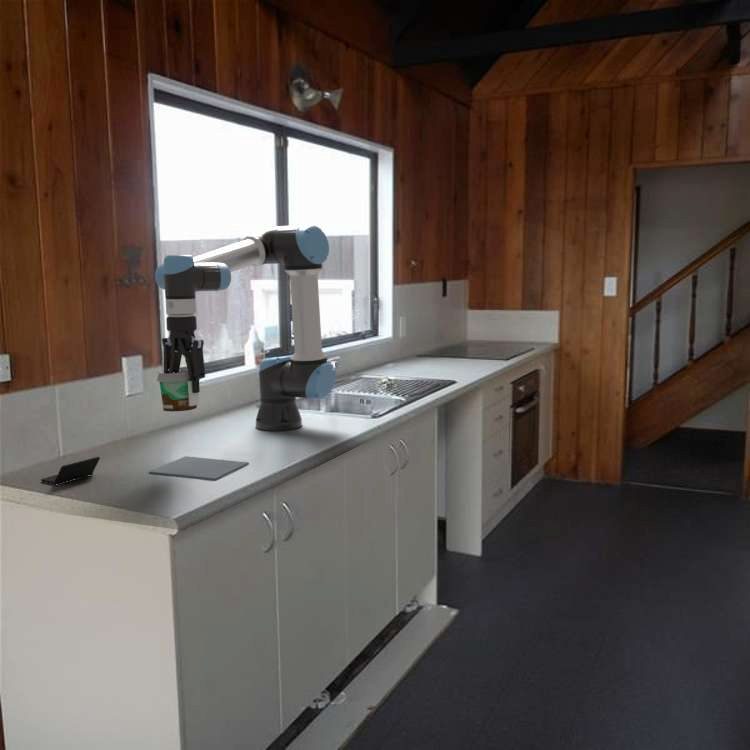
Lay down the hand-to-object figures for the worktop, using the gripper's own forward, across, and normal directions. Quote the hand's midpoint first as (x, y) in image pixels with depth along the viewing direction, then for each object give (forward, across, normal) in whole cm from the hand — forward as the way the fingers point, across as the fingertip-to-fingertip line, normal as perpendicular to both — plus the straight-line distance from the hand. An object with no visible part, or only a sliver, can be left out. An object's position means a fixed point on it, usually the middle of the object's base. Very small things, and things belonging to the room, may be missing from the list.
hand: (185, 403), depth 194 cm
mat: (+17, +4, 0) cm, 17 cm away
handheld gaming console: (+18, -15, -24) cm, 34 cm away
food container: (+2, 0, 0) cm, 2 cm away
